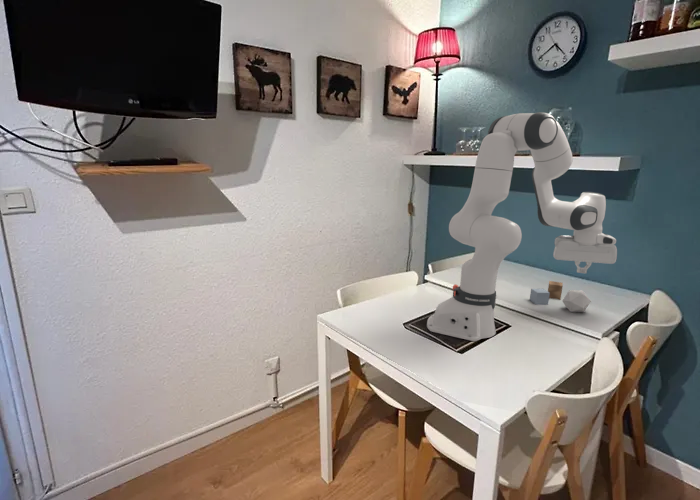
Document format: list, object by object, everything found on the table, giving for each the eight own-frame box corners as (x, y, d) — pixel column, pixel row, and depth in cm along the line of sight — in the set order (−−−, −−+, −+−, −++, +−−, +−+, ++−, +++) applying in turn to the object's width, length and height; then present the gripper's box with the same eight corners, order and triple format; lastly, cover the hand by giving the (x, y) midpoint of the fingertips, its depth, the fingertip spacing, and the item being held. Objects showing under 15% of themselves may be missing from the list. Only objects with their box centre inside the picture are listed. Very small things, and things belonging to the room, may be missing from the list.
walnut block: (547, 297, 163) (548, 284, 162) (547, 294, 168) (549, 280, 166) (560, 299, 161) (562, 286, 160) (560, 296, 166) (562, 282, 164)
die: (587, 318, 144) (599, 296, 145) (566, 305, 145) (578, 283, 146) (574, 317, 152) (585, 296, 154) (554, 305, 153) (566, 284, 154)
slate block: (535, 304, 156) (537, 292, 154) (529, 300, 160) (531, 288, 159) (548, 304, 156) (549, 292, 155) (541, 300, 161) (543, 288, 160)
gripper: (557, 236, 143) (552, 272, 147) (621, 240, 137) (615, 277, 141) (554, 233, 149) (549, 267, 153) (615, 236, 143) (609, 272, 147)
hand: (581, 272), depth 147 cm, fingers closed
